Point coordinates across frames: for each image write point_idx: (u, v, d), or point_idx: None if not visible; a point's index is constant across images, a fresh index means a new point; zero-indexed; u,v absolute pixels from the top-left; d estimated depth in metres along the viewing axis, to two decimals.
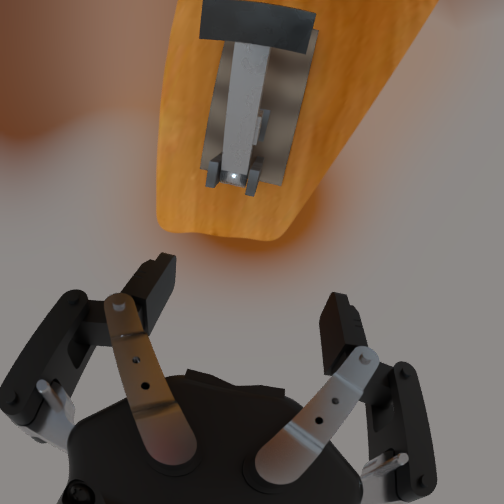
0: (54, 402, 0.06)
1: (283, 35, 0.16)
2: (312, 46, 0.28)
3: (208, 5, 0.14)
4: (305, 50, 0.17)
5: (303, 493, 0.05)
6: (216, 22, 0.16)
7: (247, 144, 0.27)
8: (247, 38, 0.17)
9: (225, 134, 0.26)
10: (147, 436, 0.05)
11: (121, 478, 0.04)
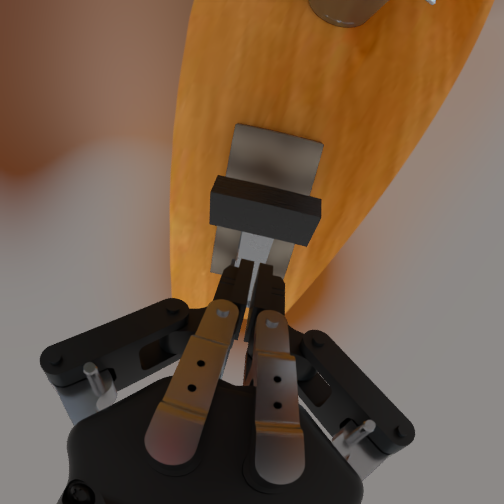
0: (95, 386, 0.07)
1: (288, 232, 0.23)
2: (316, 163, 0.35)
3: (216, 199, 0.22)
4: (306, 243, 0.24)
5: (303, 493, 0.05)
6: (225, 214, 0.23)
7: None
8: (254, 231, 0.24)
9: None
10: (147, 436, 0.05)
11: (121, 478, 0.04)
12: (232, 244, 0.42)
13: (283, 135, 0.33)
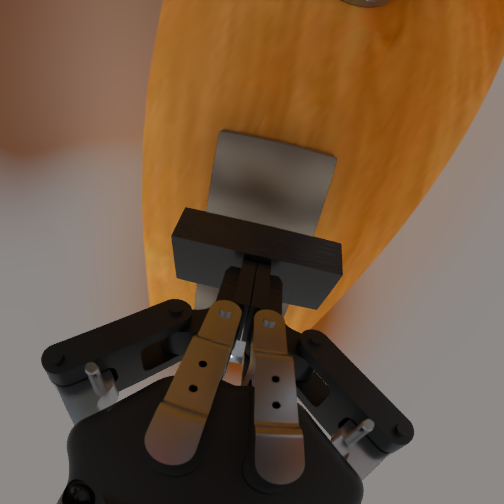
0: (96, 386, 0.07)
1: (290, 293, 0.16)
2: (326, 184, 0.27)
3: (181, 246, 0.14)
4: (317, 306, 0.16)
5: (303, 493, 0.05)
6: (197, 267, 0.15)
7: (243, 345, 0.26)
8: None
9: None
10: (147, 436, 0.05)
11: (121, 478, 0.04)
12: None
13: (283, 146, 0.25)
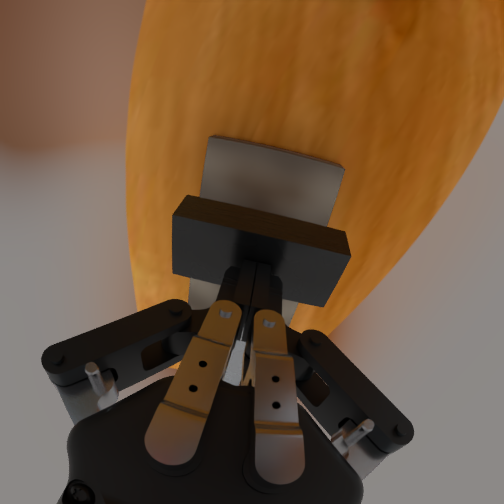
0: (96, 386, 0.07)
1: (296, 285, 0.15)
2: (332, 198, 0.23)
3: (181, 228, 0.13)
4: (324, 302, 0.15)
5: (303, 493, 0.05)
6: (196, 256, 0.14)
7: (239, 369, 0.23)
8: None
9: None
10: (147, 436, 0.05)
11: (121, 478, 0.04)
12: None
13: (283, 154, 0.22)
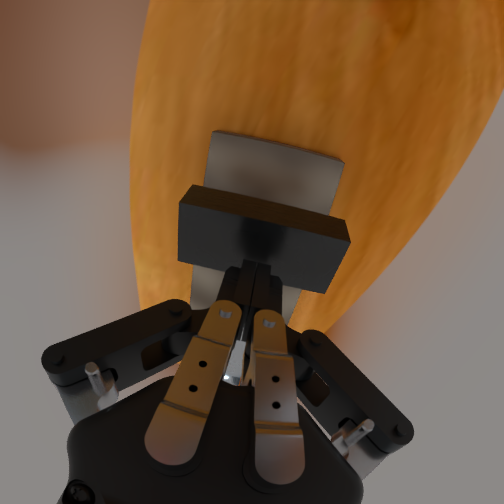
0: (96, 386, 0.07)
1: (298, 271, 0.15)
2: (332, 191, 0.24)
3: (187, 215, 0.14)
4: (325, 289, 0.16)
5: (303, 493, 0.05)
6: (201, 243, 0.15)
7: (241, 359, 0.23)
8: None
9: None
10: (147, 436, 0.05)
11: (121, 478, 0.04)
12: (214, 298, 0.31)
13: (284, 148, 0.22)
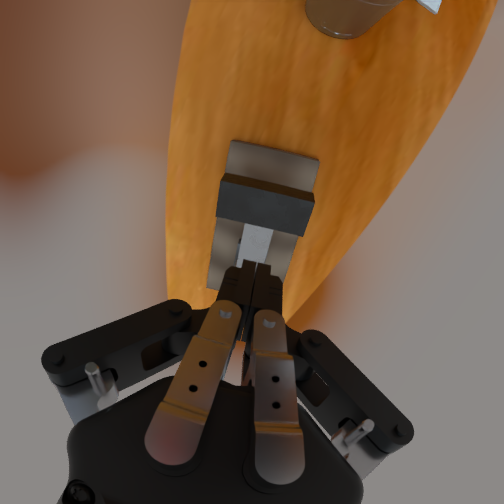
0: (96, 386, 0.07)
1: (286, 221, 0.26)
2: (312, 181, 0.35)
3: (224, 188, 0.25)
4: (302, 233, 0.27)
5: (303, 493, 0.05)
6: (231, 204, 0.26)
7: None
8: (256, 221, 0.27)
9: None
10: (147, 436, 0.05)
11: (121, 478, 0.04)
12: (228, 261, 0.42)
13: (279, 152, 0.34)
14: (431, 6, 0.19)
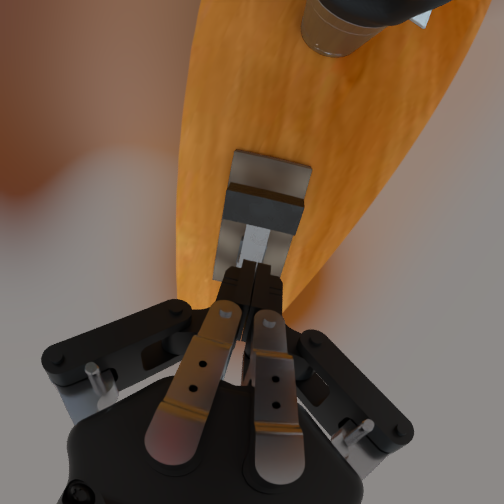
0: (96, 386, 0.07)
1: (280, 222, 0.32)
2: (305, 186, 0.41)
3: (230, 195, 0.31)
4: (294, 232, 0.33)
5: (303, 493, 0.05)
6: (235, 209, 0.32)
7: None
8: (256, 223, 0.33)
9: None
10: (147, 436, 0.05)
11: (121, 478, 0.04)
12: (232, 256, 0.48)
13: (276, 161, 0.39)
14: (420, 21, 0.24)
